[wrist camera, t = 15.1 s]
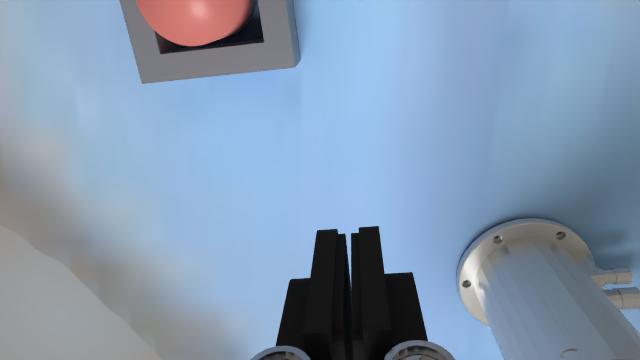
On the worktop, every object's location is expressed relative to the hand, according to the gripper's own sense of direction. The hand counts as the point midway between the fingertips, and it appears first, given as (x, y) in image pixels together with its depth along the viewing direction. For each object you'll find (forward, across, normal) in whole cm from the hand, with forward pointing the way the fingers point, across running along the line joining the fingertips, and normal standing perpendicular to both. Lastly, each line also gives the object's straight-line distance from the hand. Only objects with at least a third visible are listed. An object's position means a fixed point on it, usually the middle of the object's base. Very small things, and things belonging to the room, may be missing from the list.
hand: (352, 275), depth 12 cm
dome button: (+26, +10, -8) cm, 29 cm away
